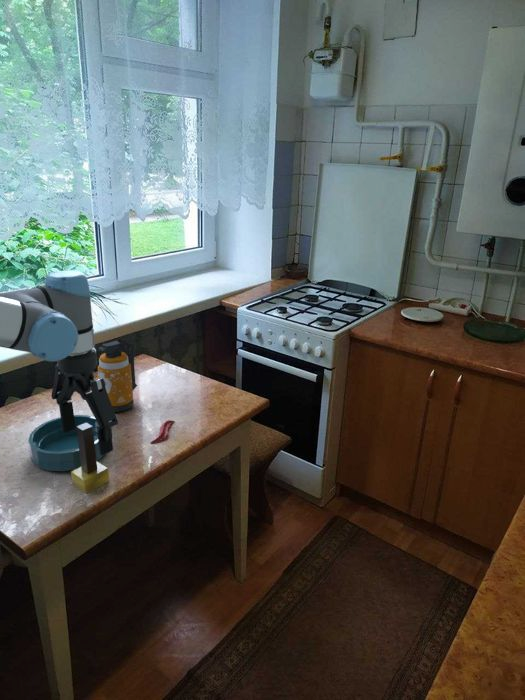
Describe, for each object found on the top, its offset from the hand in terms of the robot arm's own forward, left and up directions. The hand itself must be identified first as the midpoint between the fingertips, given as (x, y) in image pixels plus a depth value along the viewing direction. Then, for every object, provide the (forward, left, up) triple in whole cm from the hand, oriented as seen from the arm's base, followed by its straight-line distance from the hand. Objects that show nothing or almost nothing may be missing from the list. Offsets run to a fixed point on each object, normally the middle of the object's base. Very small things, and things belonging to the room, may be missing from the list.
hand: (87, 440), depth 106 cm
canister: (+27, +25, -11) cm, 38 cm away
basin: (+4, +14, -11) cm, 18 cm away
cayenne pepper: (+25, +4, -11) cm, 27 cm away
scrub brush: (0, 0, -11) cm, 11 cm away
